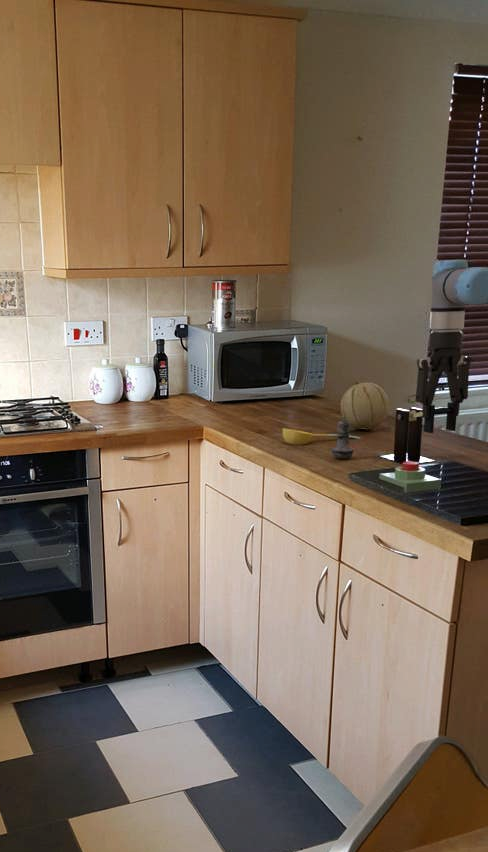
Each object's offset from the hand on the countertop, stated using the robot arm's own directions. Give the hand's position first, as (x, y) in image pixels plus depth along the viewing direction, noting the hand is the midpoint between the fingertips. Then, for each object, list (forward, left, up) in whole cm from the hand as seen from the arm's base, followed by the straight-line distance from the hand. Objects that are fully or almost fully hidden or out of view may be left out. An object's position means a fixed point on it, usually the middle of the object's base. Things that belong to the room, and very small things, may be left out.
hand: (439, 430), depth 209 cm
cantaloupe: (+63, -18, -10) cm, 66 cm away
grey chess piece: (+21, +14, -10) cm, 27 cm away
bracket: (+13, 0, -10) cm, 16 cm away
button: (-9, +14, -7) cm, 18 cm away
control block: (-9, +14, -10) cm, 20 cm away
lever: (+6, 0, +2) cm, 7 cm away
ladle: (+46, +5, -10) cm, 47 cm away
